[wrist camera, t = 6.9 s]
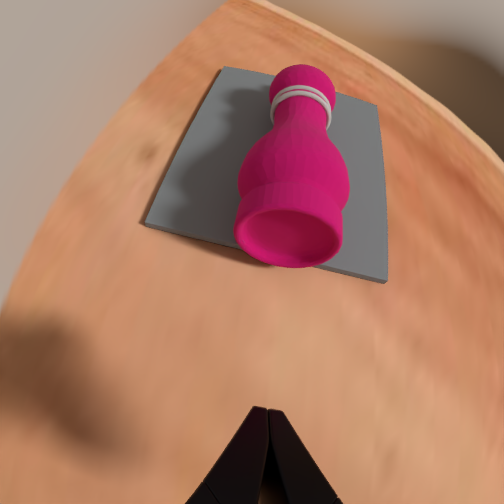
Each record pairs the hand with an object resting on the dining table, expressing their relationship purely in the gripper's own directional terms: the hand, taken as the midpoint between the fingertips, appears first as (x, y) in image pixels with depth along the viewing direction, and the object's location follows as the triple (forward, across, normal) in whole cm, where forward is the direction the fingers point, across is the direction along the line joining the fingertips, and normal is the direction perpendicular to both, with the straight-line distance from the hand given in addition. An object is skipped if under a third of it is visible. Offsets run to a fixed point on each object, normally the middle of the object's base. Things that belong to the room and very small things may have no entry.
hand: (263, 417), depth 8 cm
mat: (+23, 0, -8) cm, 24 cm away
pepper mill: (+11, 0, -2) cm, 11 cm away
